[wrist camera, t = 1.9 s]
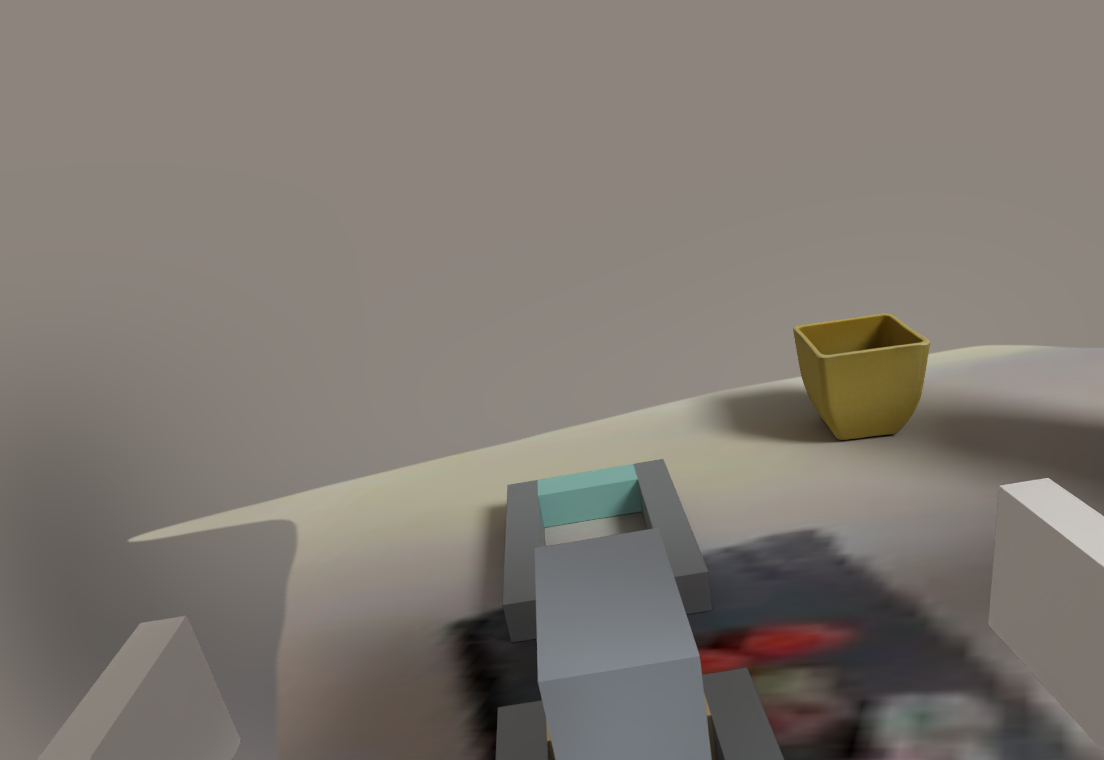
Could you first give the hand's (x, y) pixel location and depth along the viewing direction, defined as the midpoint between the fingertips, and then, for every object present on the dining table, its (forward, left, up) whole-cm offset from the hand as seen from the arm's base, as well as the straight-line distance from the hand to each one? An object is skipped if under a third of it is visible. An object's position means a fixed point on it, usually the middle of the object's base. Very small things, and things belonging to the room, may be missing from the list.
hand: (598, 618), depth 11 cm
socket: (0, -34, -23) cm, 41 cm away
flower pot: (-25, -47, -23) cm, 58 cm away
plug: (0, -11, -23) cm, 26 cm away
